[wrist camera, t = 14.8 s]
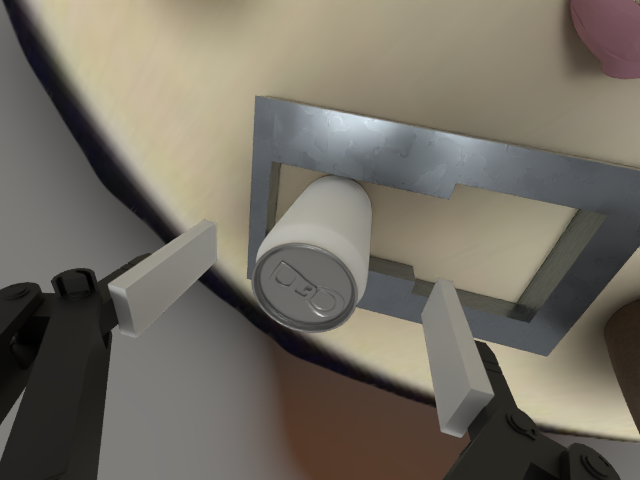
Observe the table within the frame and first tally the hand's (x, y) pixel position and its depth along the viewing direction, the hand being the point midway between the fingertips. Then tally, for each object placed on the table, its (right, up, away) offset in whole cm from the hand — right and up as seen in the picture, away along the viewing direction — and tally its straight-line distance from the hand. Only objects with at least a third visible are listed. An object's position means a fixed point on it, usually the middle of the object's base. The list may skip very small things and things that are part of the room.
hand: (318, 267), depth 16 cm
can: (+2, +4, +9) cm, 10 cm away
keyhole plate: (+8, +3, +8) cm, 12 cm away
